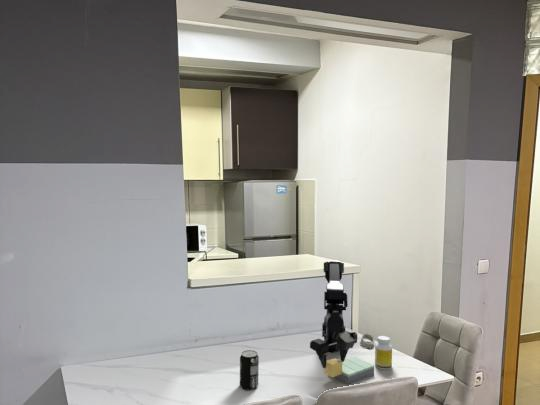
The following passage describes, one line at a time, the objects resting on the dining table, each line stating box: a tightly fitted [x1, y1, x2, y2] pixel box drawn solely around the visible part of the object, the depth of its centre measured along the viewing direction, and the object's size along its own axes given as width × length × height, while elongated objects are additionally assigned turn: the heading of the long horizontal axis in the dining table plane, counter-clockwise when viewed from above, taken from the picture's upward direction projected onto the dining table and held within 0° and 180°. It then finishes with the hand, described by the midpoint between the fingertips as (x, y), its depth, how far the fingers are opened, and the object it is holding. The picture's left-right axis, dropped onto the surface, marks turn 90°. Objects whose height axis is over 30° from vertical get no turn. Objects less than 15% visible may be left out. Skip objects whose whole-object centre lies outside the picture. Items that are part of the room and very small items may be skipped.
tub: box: [334, 367, 375, 385], centre depth 157 cm, size 10×14×3 cm
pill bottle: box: [374, 335, 393, 370], centre depth 164 cm, size 6×6×12 cm
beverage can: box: [239, 349, 260, 391], centre depth 146 cm, size 7×7×12 cm
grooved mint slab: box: [324, 356, 375, 378], centre depth 155 cm, size 10×19×4 cm, turn 126°
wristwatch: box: [359, 332, 375, 349], centre depth 187 cm, size 9×6×5 cm
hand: (333, 364), depth 151 cm, fingers open, 9 cm apart
